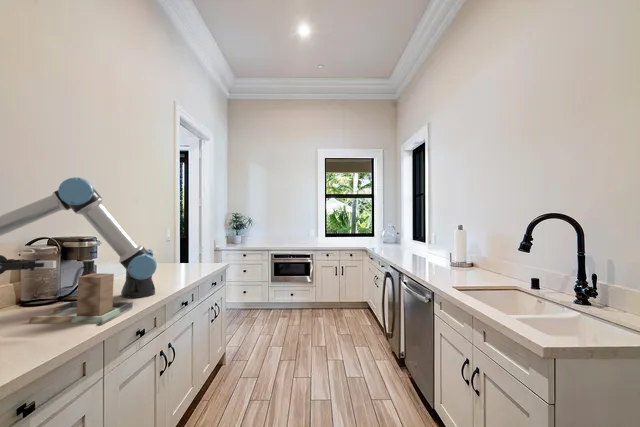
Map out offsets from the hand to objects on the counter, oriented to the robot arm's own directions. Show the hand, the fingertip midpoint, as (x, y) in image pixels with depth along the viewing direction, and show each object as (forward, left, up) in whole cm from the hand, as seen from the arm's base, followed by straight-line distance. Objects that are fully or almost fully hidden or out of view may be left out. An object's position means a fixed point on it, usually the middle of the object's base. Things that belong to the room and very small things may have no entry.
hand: (54, 264), depth 120 cm
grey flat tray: (-9, +5, -21) cm, 23 cm away
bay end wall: (-12, +17, -21) cm, 30 cm away
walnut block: (-9, +13, -20) cm, 25 cm away
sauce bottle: (-17, -13, -21) cm, 30 cm away
